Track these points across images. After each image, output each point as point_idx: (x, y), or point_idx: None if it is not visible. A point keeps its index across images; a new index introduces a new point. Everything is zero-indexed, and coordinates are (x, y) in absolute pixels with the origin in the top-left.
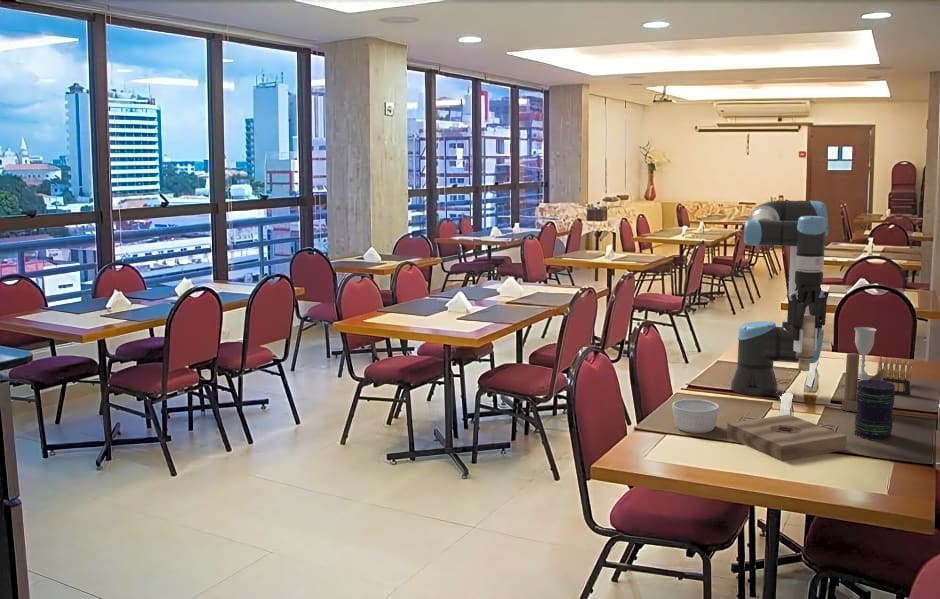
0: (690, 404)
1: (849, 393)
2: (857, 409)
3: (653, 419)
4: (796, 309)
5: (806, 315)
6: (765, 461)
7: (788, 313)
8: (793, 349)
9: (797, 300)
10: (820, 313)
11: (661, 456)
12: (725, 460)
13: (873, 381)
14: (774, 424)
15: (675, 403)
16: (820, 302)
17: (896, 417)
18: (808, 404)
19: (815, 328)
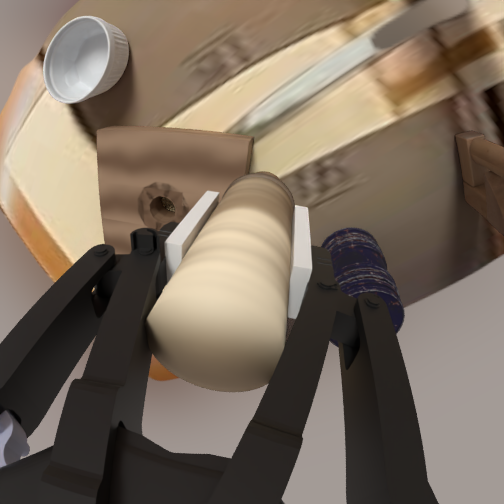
0: (95, 22)
1: (477, 156)
2: (333, 265)
3: (80, 3)
4: (60, 379)
5: (211, 350)
6: (100, 238)
7: (42, 306)
8: (205, 193)
9: (66, 421)
10: (353, 387)
11: (16, 162)
12: (62, 209)
13: (391, 305)
14: (164, 177)
15: (61, 31)
16: (364, 471)
17: (475, 224)
18: (440, 62)
19: (293, 309)
